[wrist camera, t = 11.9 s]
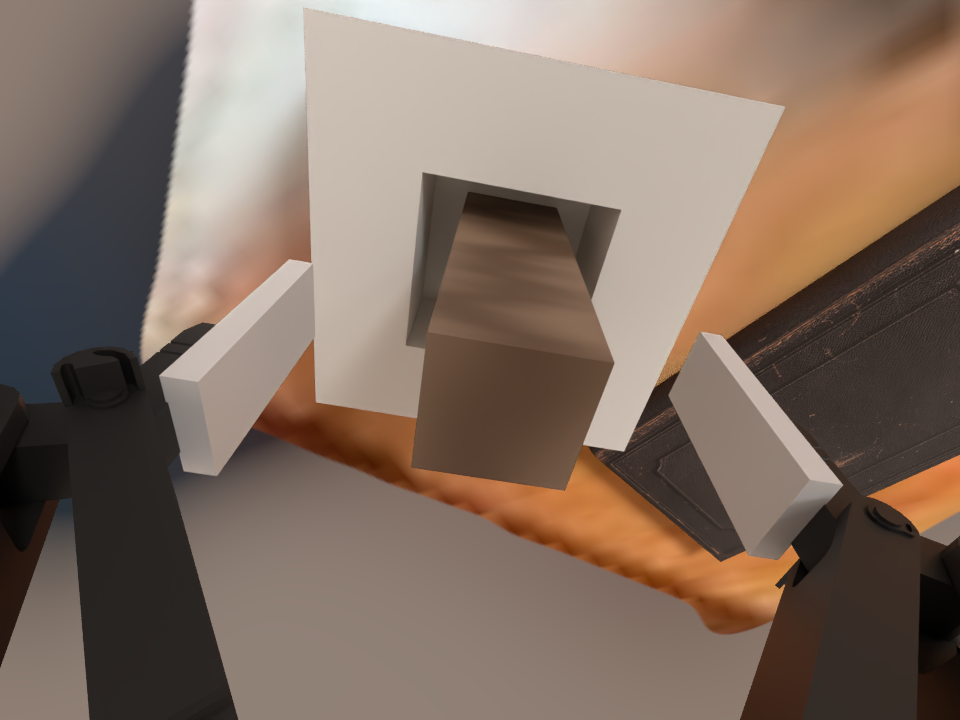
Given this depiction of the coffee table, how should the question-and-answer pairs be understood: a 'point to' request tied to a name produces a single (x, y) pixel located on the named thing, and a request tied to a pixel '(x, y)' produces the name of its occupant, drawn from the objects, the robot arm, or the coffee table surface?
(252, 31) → the coffee table surface
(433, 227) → the grey well block
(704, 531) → the hardcover book
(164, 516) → the robot arm
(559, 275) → the walnut peg
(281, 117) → the coffee table surface
